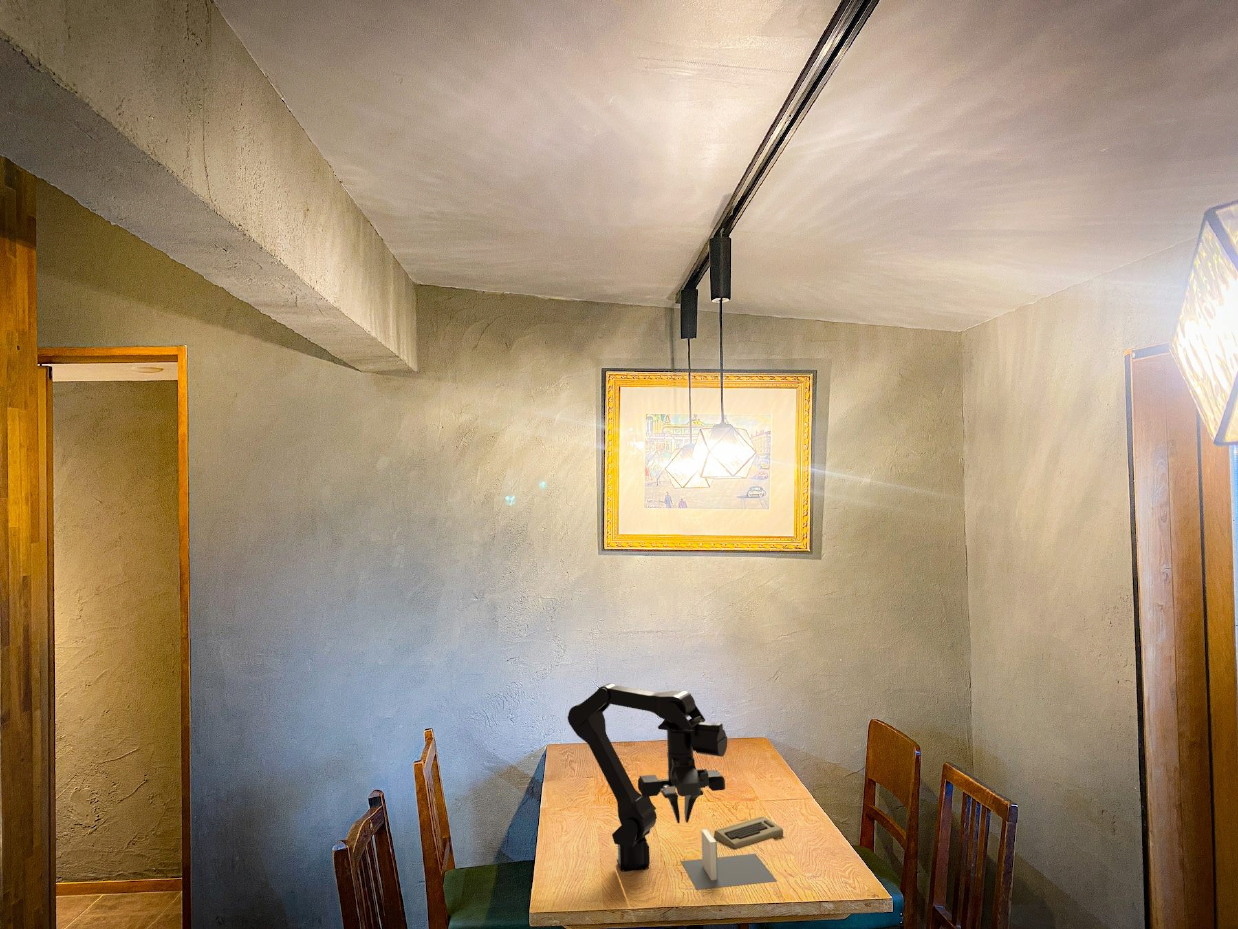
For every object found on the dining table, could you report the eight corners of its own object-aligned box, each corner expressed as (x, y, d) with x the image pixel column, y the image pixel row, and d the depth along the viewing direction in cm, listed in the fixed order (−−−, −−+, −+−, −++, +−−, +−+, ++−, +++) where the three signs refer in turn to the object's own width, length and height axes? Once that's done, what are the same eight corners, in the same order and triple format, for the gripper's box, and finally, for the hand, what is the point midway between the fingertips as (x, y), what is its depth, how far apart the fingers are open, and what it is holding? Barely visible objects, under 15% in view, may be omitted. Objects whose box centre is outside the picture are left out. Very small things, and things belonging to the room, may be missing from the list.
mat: (696, 892, 166) (696, 890, 166) (680, 864, 179) (680, 861, 179) (777, 884, 169) (777, 881, 169) (755, 856, 182) (755, 853, 182)
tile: (711, 880, 170) (710, 842, 170) (702, 866, 177) (701, 829, 177) (717, 879, 170) (716, 841, 170) (708, 865, 177) (707, 829, 177)
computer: (734, 853, 185) (734, 839, 185) (713, 841, 192) (713, 828, 192) (784, 838, 193) (783, 824, 193) (762, 827, 200) (761, 814, 200)
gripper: (646, 765, 165) (648, 841, 164) (731, 758, 168) (734, 833, 167) (636, 749, 175) (638, 821, 174) (716, 743, 179) (718, 813, 178)
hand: (682, 822), depth 173 cm, fingers closed
